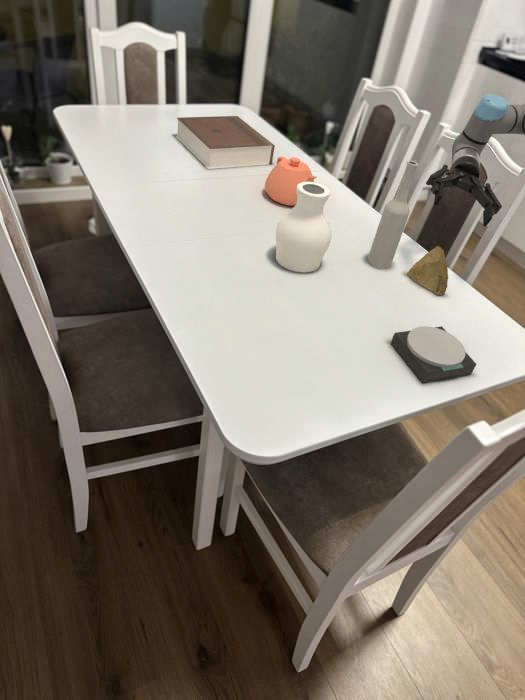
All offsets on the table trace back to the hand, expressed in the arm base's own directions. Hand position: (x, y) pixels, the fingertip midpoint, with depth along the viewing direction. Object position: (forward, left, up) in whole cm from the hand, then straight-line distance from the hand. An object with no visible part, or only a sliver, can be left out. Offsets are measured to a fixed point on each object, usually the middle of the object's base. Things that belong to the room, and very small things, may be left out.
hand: (462, 211), depth 134 cm
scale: (-29, +22, -19) cm, 41 cm away
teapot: (+47, +24, -19) cm, 56 cm away
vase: (+13, +36, -19) cm, 43 cm away
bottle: (+9, +13, -19) cm, 25 cm away
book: (+85, +34, -19) cm, 93 cm away
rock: (-3, +6, -19) cm, 20 cm away
